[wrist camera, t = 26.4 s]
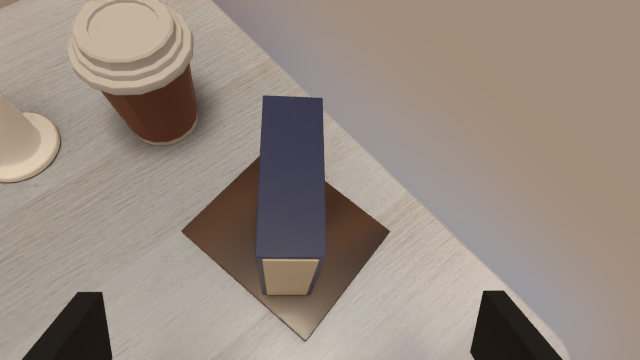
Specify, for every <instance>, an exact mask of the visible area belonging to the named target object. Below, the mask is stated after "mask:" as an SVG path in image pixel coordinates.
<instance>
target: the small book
mask: <svg viewBox="0 0 640 360" xmlns="http://www.w3.org/2000/svg"><path fill="white" fill-rule="evenodd" d="M326 258H327V245H326V208H325V171H324V135H323V99H322V98H310V97H286V96H263V107H262V127H261V146H260V166H259V185H258V205H257V224H256V244H255V260H256V265H257V270H258V275H259V280H260V285H261V290H262V294H263V295H310V294H311V293H312V290H313V288H314V286H315V283H316V281H317V279H318V276H319V274H320V272H321V269H322V267H323V265H324V263H325V260H326Z"/></svg>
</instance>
